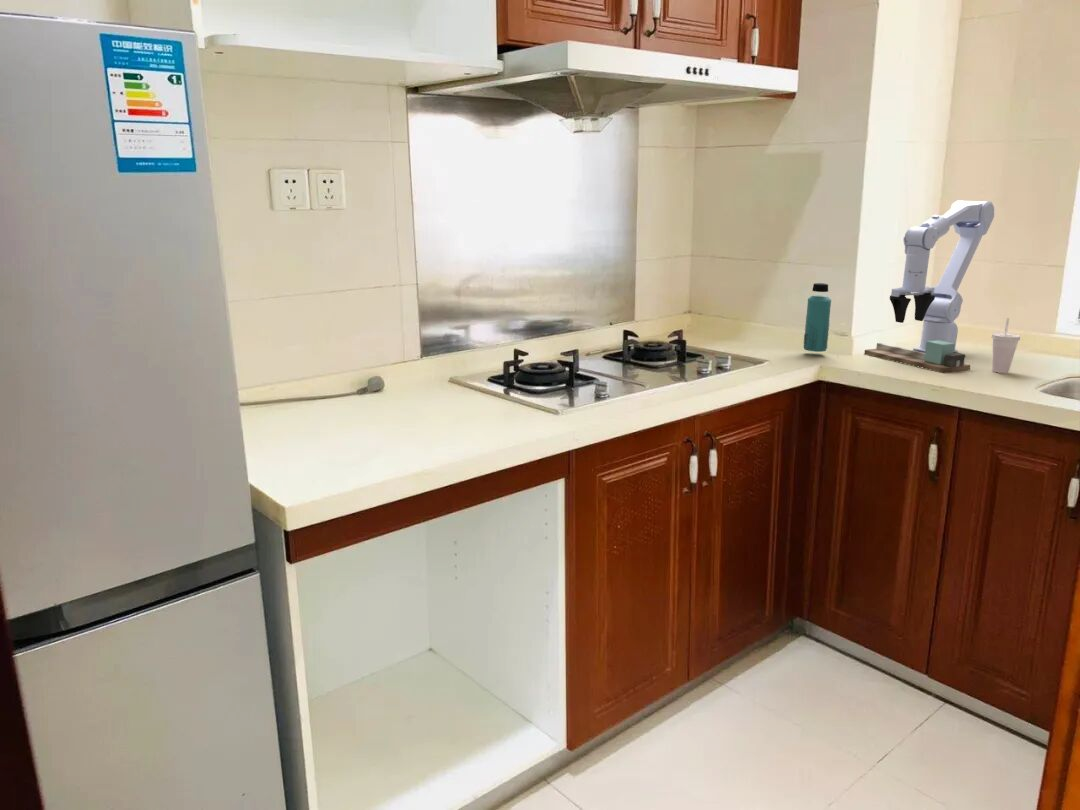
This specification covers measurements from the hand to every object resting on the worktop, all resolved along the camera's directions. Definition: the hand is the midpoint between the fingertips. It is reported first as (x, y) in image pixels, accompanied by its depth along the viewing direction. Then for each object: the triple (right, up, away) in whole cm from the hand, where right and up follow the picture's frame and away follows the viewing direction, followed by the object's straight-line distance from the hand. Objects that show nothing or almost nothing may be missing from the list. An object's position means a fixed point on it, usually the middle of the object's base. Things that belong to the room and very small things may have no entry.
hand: (909, 321), depth 228 cm
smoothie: (+17, -15, -15) cm, 27 cm away
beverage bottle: (-25, -9, +4) cm, 27 cm away
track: (0, -11, -4) cm, 12 cm away
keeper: (+3, -12, -10) cm, 16 cm away
